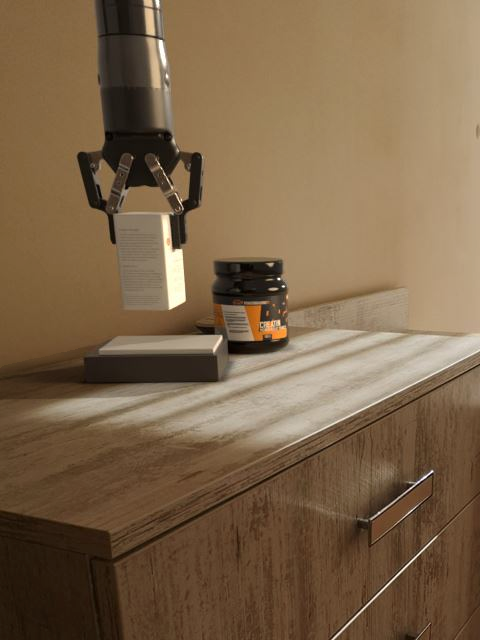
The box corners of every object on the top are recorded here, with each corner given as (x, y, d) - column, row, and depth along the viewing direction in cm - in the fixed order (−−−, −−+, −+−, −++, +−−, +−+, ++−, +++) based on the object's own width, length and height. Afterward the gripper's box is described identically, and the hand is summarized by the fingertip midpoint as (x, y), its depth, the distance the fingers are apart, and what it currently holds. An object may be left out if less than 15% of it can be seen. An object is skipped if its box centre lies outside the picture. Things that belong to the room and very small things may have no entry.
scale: (84, 383, 94) (80, 351, 92) (108, 363, 105) (105, 334, 104) (218, 381, 95) (216, 350, 94) (228, 361, 106) (226, 333, 105)
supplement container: (230, 357, 109) (225, 263, 105) (204, 345, 117) (198, 258, 113) (302, 350, 114) (300, 260, 110) (272, 339, 122) (269, 255, 118)
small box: (142, 302, 101) (133, 211, 97) (187, 302, 101) (180, 211, 97) (121, 310, 94) (111, 212, 90) (169, 310, 93) (161, 213, 90)
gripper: (206, 92, 93) (216, 247, 99) (77, 91, 92) (94, 247, 98) (198, 84, 86) (209, 251, 92) (58, 82, 85) (78, 251, 91)
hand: (150, 248), depth 95 cm, fingers closed on small box, 6 cm apart
